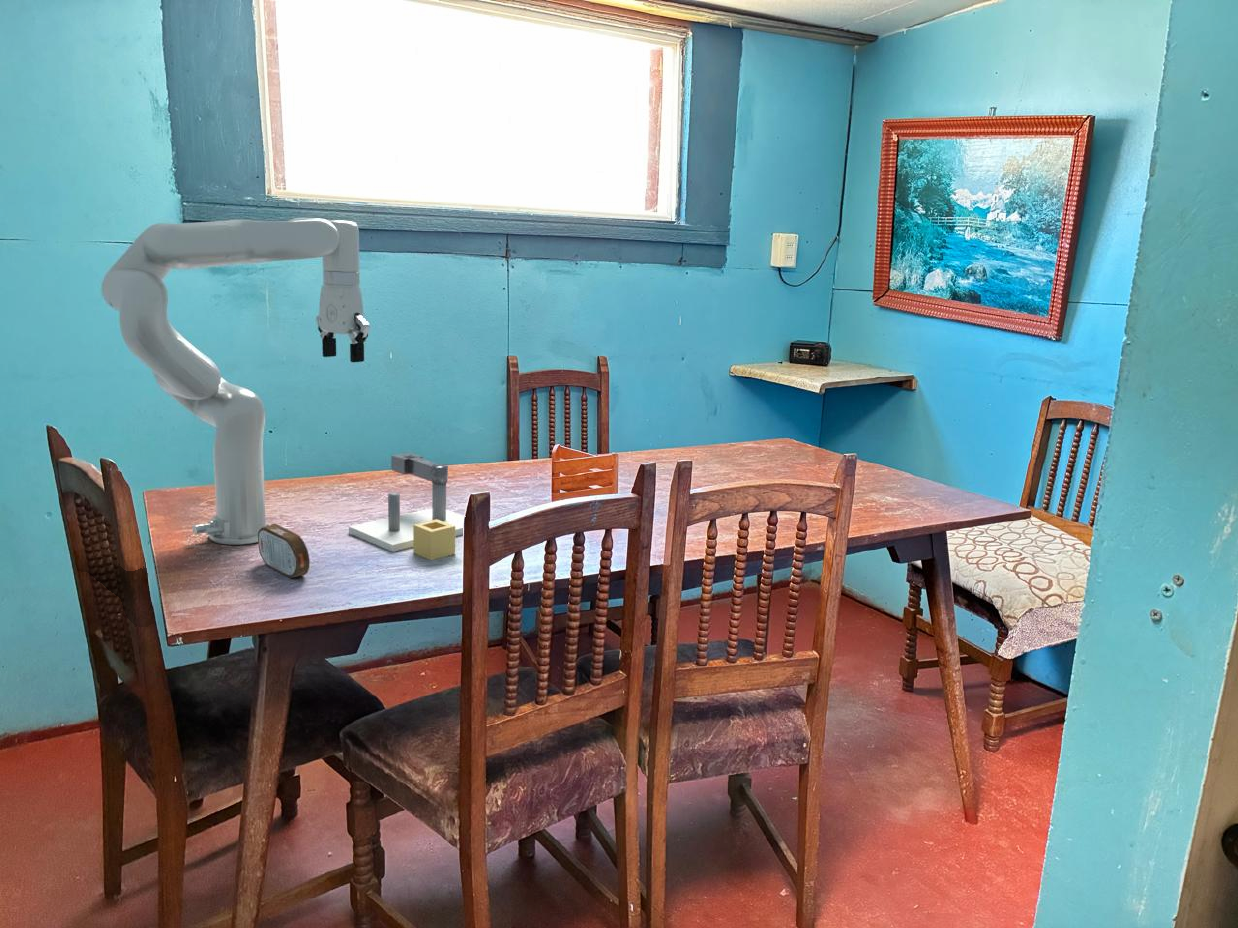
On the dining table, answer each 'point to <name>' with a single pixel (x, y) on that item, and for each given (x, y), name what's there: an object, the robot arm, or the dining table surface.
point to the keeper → (419, 467)
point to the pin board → (406, 522)
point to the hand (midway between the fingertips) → (343, 359)
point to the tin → (283, 551)
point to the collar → (433, 539)
